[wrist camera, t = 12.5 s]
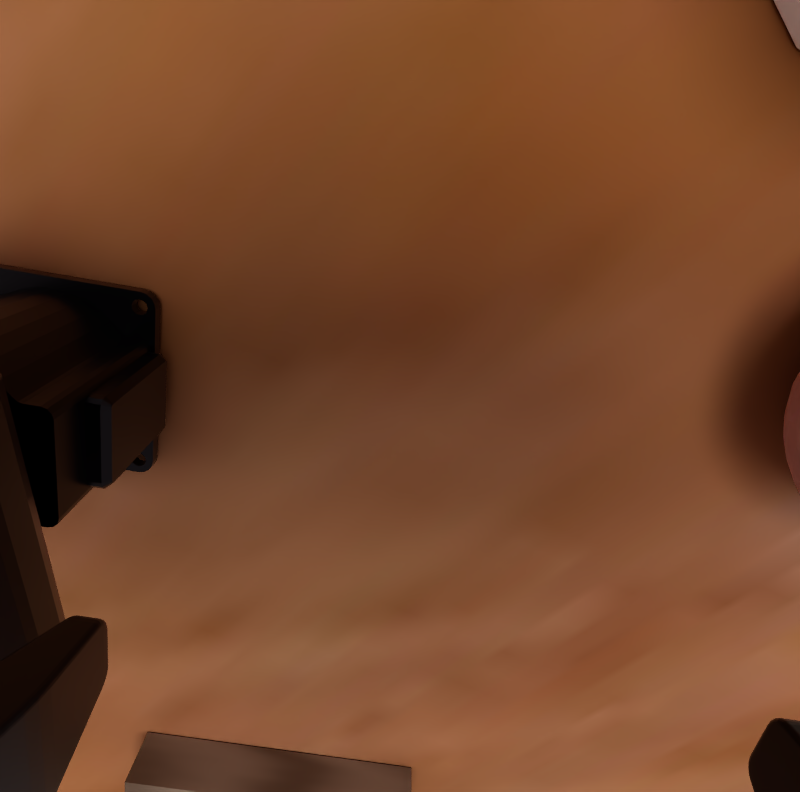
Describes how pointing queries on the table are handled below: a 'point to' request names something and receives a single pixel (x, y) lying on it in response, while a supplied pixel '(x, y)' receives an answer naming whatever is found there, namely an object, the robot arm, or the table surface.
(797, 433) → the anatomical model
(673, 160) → the table surface
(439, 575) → the table surface
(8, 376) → the robot arm
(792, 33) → the white cup
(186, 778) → the picture frame
